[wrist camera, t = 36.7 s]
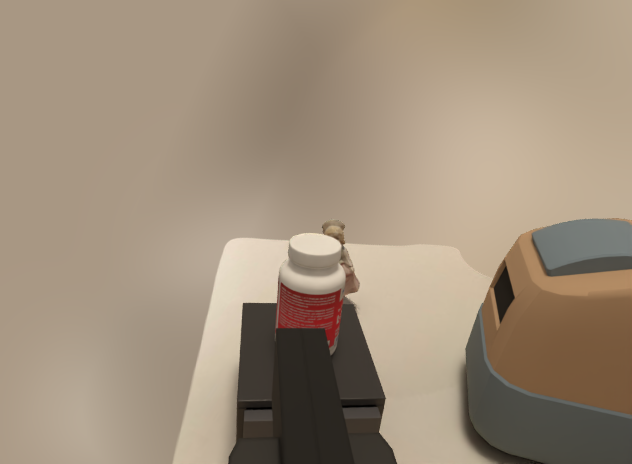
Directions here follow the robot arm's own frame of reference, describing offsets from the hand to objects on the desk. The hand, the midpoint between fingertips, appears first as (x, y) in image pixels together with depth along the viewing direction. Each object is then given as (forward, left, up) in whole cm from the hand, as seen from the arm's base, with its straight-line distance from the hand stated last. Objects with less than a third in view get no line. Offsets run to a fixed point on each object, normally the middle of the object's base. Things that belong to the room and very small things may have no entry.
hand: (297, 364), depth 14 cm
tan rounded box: (+31, +23, -28) cm, 48 cm away
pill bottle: (+4, +24, -19) cm, 31 cm away
